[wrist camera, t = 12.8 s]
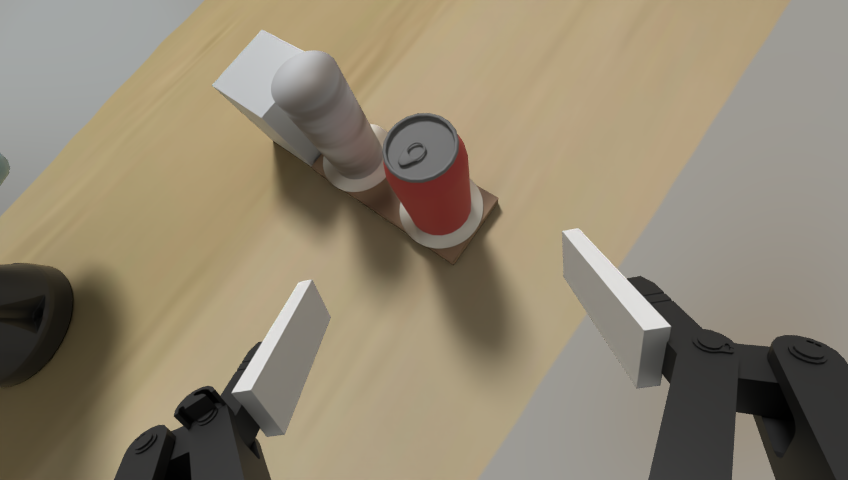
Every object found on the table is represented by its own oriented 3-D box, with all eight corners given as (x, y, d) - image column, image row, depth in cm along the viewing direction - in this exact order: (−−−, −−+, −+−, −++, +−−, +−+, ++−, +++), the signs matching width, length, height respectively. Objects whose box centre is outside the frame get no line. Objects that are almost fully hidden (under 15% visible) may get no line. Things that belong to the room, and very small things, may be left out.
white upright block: (272, 140, 42) (211, 85, 32) (310, 95, 43) (261, 29, 33) (314, 168, 39) (261, 117, 30) (353, 120, 40) (313, 56, 31)
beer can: (398, 206, 34) (357, 146, 23) (443, 168, 35) (425, 90, 23) (436, 250, 32) (412, 207, 21) (484, 208, 33) (486, 144, 21)
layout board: (314, 173, 39) (234, 99, 27) (358, 119, 40) (301, 22, 28) (451, 267, 33) (433, 229, 20) (499, 200, 34) (510, 124, 21)
